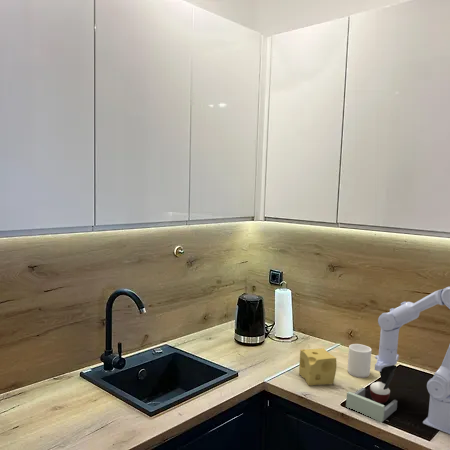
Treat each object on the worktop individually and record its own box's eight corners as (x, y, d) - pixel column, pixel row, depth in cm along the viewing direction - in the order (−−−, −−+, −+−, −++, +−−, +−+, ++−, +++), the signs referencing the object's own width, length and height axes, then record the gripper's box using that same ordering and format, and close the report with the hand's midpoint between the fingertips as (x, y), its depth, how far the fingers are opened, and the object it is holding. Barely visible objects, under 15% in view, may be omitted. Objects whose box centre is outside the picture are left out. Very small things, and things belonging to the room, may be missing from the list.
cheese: (308, 386, 154) (310, 359, 153) (297, 373, 164) (299, 348, 163) (335, 384, 156) (337, 358, 155) (322, 371, 166) (324, 346, 165)
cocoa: (365, 395, 149) (366, 361, 148) (383, 394, 150) (383, 361, 149) (377, 409, 140) (377, 373, 139) (395, 408, 140) (396, 372, 139)
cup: (352, 378, 162) (354, 352, 161) (340, 364, 174) (341, 340, 173) (373, 377, 163) (375, 351, 162) (359, 364, 175) (361, 340, 174)
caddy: (396, 409, 140) (397, 394, 139) (381, 422, 132) (382, 406, 131) (362, 395, 148) (363, 382, 148) (345, 407, 140) (346, 392, 139)
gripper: (386, 338, 153) (382, 374, 155) (367, 348, 143) (364, 387, 144) (405, 344, 149) (402, 381, 150) (388, 355, 138) (384, 395, 140)
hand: (385, 385), depth 147 cm, fingers closed, pressing on cocoa
